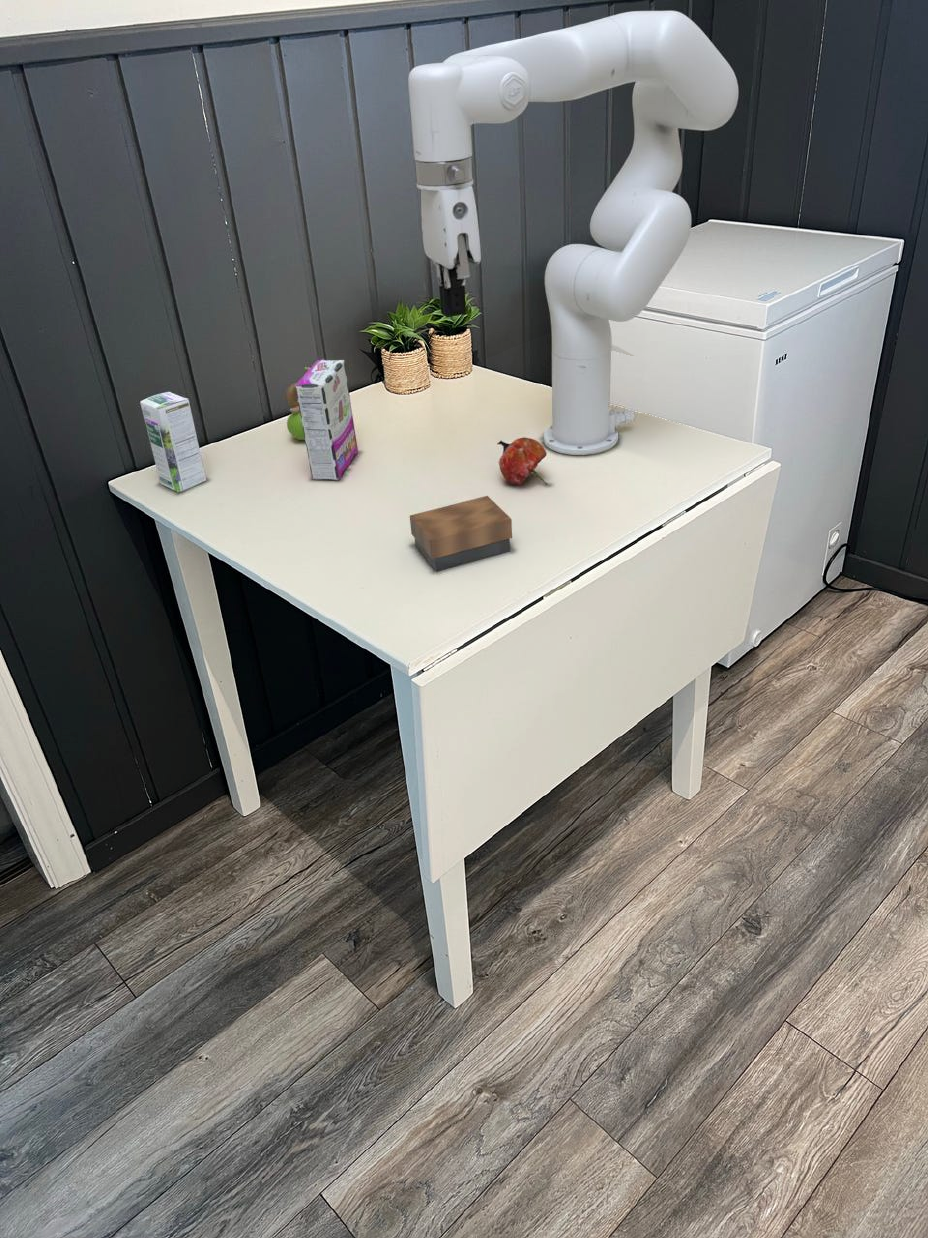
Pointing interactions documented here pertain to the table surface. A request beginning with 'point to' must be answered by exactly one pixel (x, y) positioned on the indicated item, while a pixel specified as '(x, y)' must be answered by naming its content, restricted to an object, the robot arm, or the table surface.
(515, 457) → the pomegranate
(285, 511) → the table surface
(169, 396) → the syrup box
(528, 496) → the table surface
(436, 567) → the brush
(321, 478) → the candy bar box
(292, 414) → the snail figurine
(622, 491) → the table surface
